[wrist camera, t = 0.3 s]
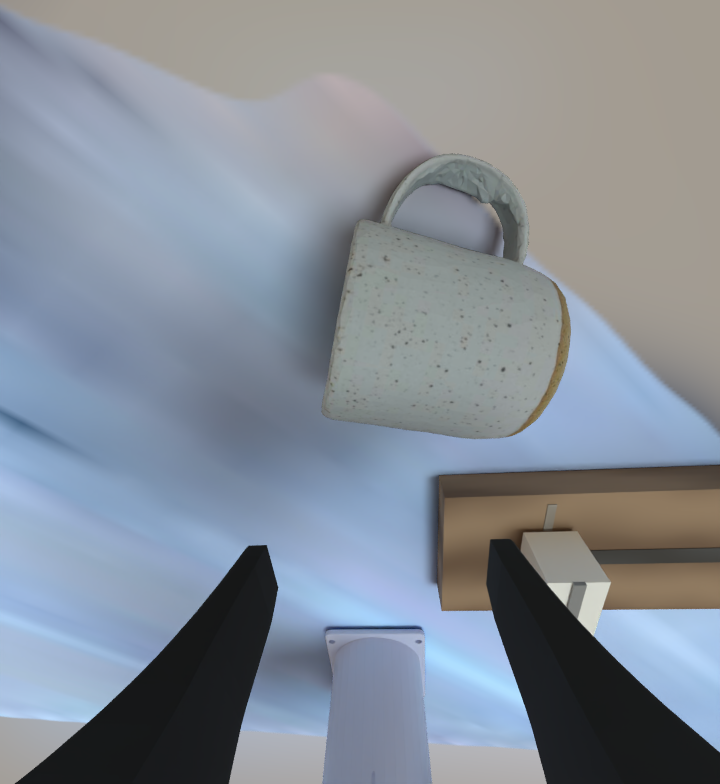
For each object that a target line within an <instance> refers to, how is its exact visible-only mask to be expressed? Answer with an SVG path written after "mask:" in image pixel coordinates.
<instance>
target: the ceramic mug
mask: <svg viewBox="0 0 720 784" xmlns="http://www.w3.org/2000/svg"><path fill="white" fill-rule="evenodd" d="M438 183H439V184H441V185H446V186H449V187H451V188H454V189H457V190H459V191H462V192H465V193H468V194H470V195H472V196H474V197H476V198H477V199H478V200H479V201H480V202H481V203H490V204H491V205H492V207H493V208H494V209H495V211H496V212H497V214H498V217H499V219H500V221H501V224H502V227H503V239H504V251H503V258H501V257H497V256H493V255H488V254H484V253H480V252H476V251H472V250H468V249H464V248H461V247H458V246H455V245H452V244H448V243H445V242H442V241H439V240H436V239H432V238H429V237H426V236H422V235H418V234H415V233H411V232H408V231H404V230H401V229H397V228H394V227H392V226H391V222H392V220H393V218H394V216H395V214H396V212H397V210H398V209H399V207H400V206H401V204H402V203H403V202H404V200H405V199H406V198H407V197H408V196H409V195H410V194H411V193H412V192H413V191H414V190H415V189H417V188H419V187H421V186H423V185H427V184H431V185H434V184H438ZM528 236H529V223H528V216H527V209H526V206H525V202H524V201H523V199H522V197H521V195H520V193H519V191H518V189H517V188H516V187H515V185H514V184H513V183H512V182H511V180H510V179H509V178H508V177H507V176H506V175H505V174H503V173H502V172H501V171H500V170H498V169H496V168H494V167H493V166H492V165H491V164H489V163H487V162H485V161H482V160H480V159H477V158H474V157H471V156H466V155H461V154H443V155H439V156H436V157H433V158H431V159H429V160H427V161H425V162H424V163H422V164H421V165H419V166H418V167H416V168H415V169H414V170H412V171H411V172H410V173H409V174H408V175H407V176H405V178H404V179H403V180H402V182H401V183H400V184H399V185H398V187H397V188H396V190H395V191H394V193H393V194H392V196H391V198H390V200H389V202H388V204H387V207H386V209H385V211H384V214H383V216H382V219H381V222H380V223H377V222H373V221H370V220H364V219H361V220H359V221H358V222H357V223H356V226H355V229H354V235H353V240H352V243H351V249H350V254H349V260H348V265H347V270H346V275H345V282H344V286H343V291H342V296H341V302H340V308H339V313H338V317H337V322H336V329H335V335H334V343H333V347H332V353H331V358H330V363H329V371H328V377H327V382H326V387H325V391H324V395H323V401H322V411H321V412H322V414H323V415H324V416H325V417H327V418H330V419H333V420H340V421H348V422H357V423H364V424H371V425H378V426H385V427H391V428H398V429H405V430H412V431H421V432H429V433H435V434H441V435H447V436H453V437H460V438H469V439H490V438H503V437H509V436H513V435H515V434H517V433H519V432H521V431H523V430H524V429H525V428H527V427H528V426H529V425H531V424H532V423H533V422H534V421H536V420H537V419H538V417H539V416H540V415H541V414H542V412H543V411H544V409H545V408H546V407H547V405H548V403H549V402H550V400H551V399H552V397H553V396H554V394H555V392H556V390H557V388H558V385H559V383H560V381H561V378H562V376H563V373H564V370H565V366H566V363H567V358H568V352H569V345H570V335H571V327H570V317H569V313H568V308H567V304H566V300H565V297H564V295H563V294H562V292H561V291H560V289H559V288H558V286H557V285H556V283H554V282H553V281H552V280H551V279H549V278H548V277H547V276H545V275H544V274H542V273H540V272H538V271H536V270H534V269H532V268H530V267H527V266H525V265H523V262H524V259H525V257H526V252H527V247H528V243H529V242H528Z"/></svg>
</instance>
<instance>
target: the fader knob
mask: <svg viewBox="0 0 720 784" xmlns="http://www.w3.org/2000/svg"><path fill="white" fill-rule="evenodd" d="M520 551H521V552H522V554H523V555H524V556H525V557H526V559H527V560H528V561H529V563H530V564H531V565H532V566H533V568H534V569H535V570H536V571H537V573H538V574H539V575H540V576H541V578H542V579H543V580H544V581H545V582H546V584H547V585H548V586H549V587H550V588H551V590H552V591H553V592H554V593H555V594H556V595H557V597H558V598H559V599H560V600H561V601H562V602H563V603H564V605H565V606H566V607H567V608H568V609H569V610H570V611H571V613H572V614H573V615H574V616H575V617H576V618H577V619H578V620H579V621H580V622H581V624H582V625H583V626H584V627H585V628H586V629H587V630H588V631H589V632H590V633H591V634H592V635H593V636H594V633H595V630H596V627H597V624H598V621H599V618H600V614H601V611H602V608H603V605H604V602H605V599H606V596H607V593H608V590H609V587H610V584H611V582H610V580H609V579H608V577H607V576H606V574H605V573H604V571H603V570H602V568H601V567H600V565H599V563H598V562H597V560H596V559H595V557H594V556H593V554H592V553H591V551H590V550H589V548H588V547H587V545H586V544H585V542H584V541H583V539H582V538H581V536H580V535H579V533H578V532H577V531H564V532H523V537H522V544H521V550H520Z"/></svg>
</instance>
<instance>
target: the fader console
mask: <svg viewBox="0 0 720 784" xmlns="http://www.w3.org/2000/svg"><path fill="white" fill-rule="evenodd" d="M564 531H577V532H578V533H579V535H580V536H581V538H582V539H583V541H584V542H585V544H586V545H587V547H588V548H589V550H590V551H591V553H592V554H593V556H594V557H595V559H596V560H597V562H598V563H599V565H600V567H601V568H602V570H603V571H604V573H605V574H606V576H607V577H608V579H609V580H610V582H611V584H610V587H609V590H608V593H607V596H606V599H605V602H604V605H603V608H602V610H617V609H720V465H710V466H683V467H655V468H628V469H601V470H573V471H546V472H519V473H491V474H464V475H439V506H438V566H437V586H438V592H439V598H440V604H441V609H442V611H488V610H492V607H491V603H490V598H489V594H488V590H487V586H486V579H487V568H488V557H489V546H490V539H511V540H512V541H513V542H514V543H515V544H516V546H517V547H518V548H519V550H521V544H522V537H523V532H564Z"/></svg>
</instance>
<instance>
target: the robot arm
mask: <svg viewBox="0 0 720 784" xmlns="http://www.w3.org/2000/svg"><path fill="white" fill-rule="evenodd" d="M486 586H487V590H488V594H489V598H490V603H491V607H492V611H493V615H494V619H495V622H496V625H497V628H498V631H499V634H500V636H501V639H502V642H503V645H504V648H505V651H506V654H507V657H508V659H509V662H510V665H511V668H512V671H513V674H514V676H515V679H516V682H517V685H518V688H519V691H520V693H521V696H522V699H523V702H524V705H525V708H526V711H527V714H528V717H529V720H530V723H531V727H532V730H533V734H534V737H535V741H536V745H537V748H538V752H539V756H540V759H541V763H542V767H543V770H544V774H545V778H546V782H547V784H720V752H719V751H717V750H716V749H715V748H714V747H713V746H712V745H710V744H709V743H708V742H707V741H706V740H705V739H703V738H702V737H701V736H700V735H699V734H698V733H696V732H695V731H694V730H693V729H692V728H691V727H689V726H688V725H687V724H686V723H685V722H684V721H682V720H681V719H680V718H679V717H678V716H677V715H675V714H674V713H673V712H672V711H671V710H670V709H668V708H667V707H666V706H665V705H664V704H663V703H662V702H661V701H660V700H658V699H657V698H656V697H655V696H654V695H653V694H652V693H651V692H650V691H649V690H648V689H647V688H645V687H644V686H643V685H642V684H641V683H640V682H639V681H638V680H637V679H636V678H635V677H634V676H633V675H632V674H631V673H630V672H629V671H627V670H626V669H625V668H624V667H623V666H622V665H621V664H620V663H619V662H618V661H617V660H616V659H615V658H614V657H613V656H612V655H611V654H610V653H609V652H608V651H607V650H606V649H605V648H604V647H603V646H602V645H601V644H600V643H599V642H598V641H597V640H596V638H595V637H594V636H593V635H592V634H591V633H590V632H589V631H588V630H587V629H586V628H585V627H584V626H583V625H582V624H581V622H580V621H579V620H578V619H577V618H576V617H575V616H574V615H573V614H572V613H571V611H570V610H569V609H568V608H567V607H566V606H565V605H564V603H563V602H562V601H561V600H560V599H559V598H558V597H557V595H556V594H555V593H554V592H553V591H552V590H551V588H550V587H549V586H548V585H547V584H546V582H545V581H544V580H543V579H542V578H541V576H540V575H539V574H538V573H537V571H536V570H535V569H534V568H533V566H532V565H531V564H530V563H529V561H528V560H527V559H526V557H525V556H524V555H523V554H522V552H521V551H520V550H519V548H518V547H517V546H516V544H515V543H514V542H513V541H512V540H511V539H490V546H489V557H488V568H487V579H486ZM277 591H278V585H277V582H276V578H275V574H274V570H273V567H272V563H271V559H270V556H269V552H268V548H267V545H257V546H248V547H247V548H246V549H245V551H244V552H243V553H242V555H241V556H240V557H239V559H238V560H237V561H236V562H235V564H234V565H233V566H232V568H231V569H230V570H229V572H228V573H227V574H226V576H225V577H224V578H223V579H222V581H221V582H220V583H219V585H218V586H217V587H216V588H215V590H214V591H213V592H212V593H211V595H210V596H209V597H208V598H207V599H206V601H205V602H204V603H203V604H202V606H201V607H200V608H199V609H198V611H197V612H196V613H195V614H194V615H193V616H192V618H191V619H190V620H189V621H188V622H187V623H186V624H185V626H184V627H183V628H182V629H181V630H180V631H179V633H178V634H177V635H176V636H175V637H174V638H173V639H172V641H171V642H170V643H169V644H168V645H167V646H166V647H165V648H164V649H163V650H162V651H161V652H160V654H159V655H158V656H157V657H156V658H155V659H154V660H153V661H152V662H151V663H150V664H149V665H148V666H147V667H146V668H145V669H144V670H143V671H142V672H141V673H140V674H139V675H138V676H137V677H136V678H135V679H134V680H133V681H132V682H131V683H130V684H129V685H128V686H127V687H126V688H125V689H124V690H123V691H122V692H121V693H120V694H119V695H117V696H116V697H115V698H114V699H113V700H112V701H111V702H110V703H109V704H108V705H107V706H106V707H105V708H104V709H103V710H102V711H100V712H99V713H98V714H97V715H96V716H95V717H94V718H93V719H92V720H90V721H89V722H88V723H87V724H86V725H85V726H84V727H82V728H81V729H80V730H79V731H78V732H77V733H76V734H74V735H73V736H72V737H71V738H70V739H68V740H67V741H66V742H65V743H64V744H63V745H62V746H60V747H59V748H58V749H57V750H56V751H55V752H54V753H52V754H51V755H50V756H49V757H47V758H46V759H45V760H44V761H43V762H41V763H40V764H39V765H38V766H37V767H35V768H34V769H33V770H32V771H30V772H29V773H28V774H27V775H25V776H24V777H23V778H21V779H20V780H19V781H18V782H16V783H15V784H229V780H230V775H231V770H232V765H233V760H234V755H235V751H236V747H237V743H238V737H239V733H240V729H241V725H242V721H243V717H244V713H245V710H246V706H247V702H248V699H249V696H250V693H251V689H252V686H253V683H254V679H255V676H256V673H257V669H258V666H259V663H260V659H261V656H262V653H263V650H264V646H265V643H266V639H267V636H268V633H269V629H270V626H271V622H272V617H273V612H274V607H275V602H276V596H277ZM325 639H326V644H327V649H328V654H329V659H330V663H331V668H332V673H333V682H332V692H331V702H330V712H329V722H328V732H327V742H326V753H325V763H324V773H323V783H322V784H432V778H431V768H430V757H429V748H428V737H427V727H426V717H425V707H424V697H425V635H424V632H423V631H422V630H420V629H348V630H328V631H327V632H326V635H325Z"/></svg>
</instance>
